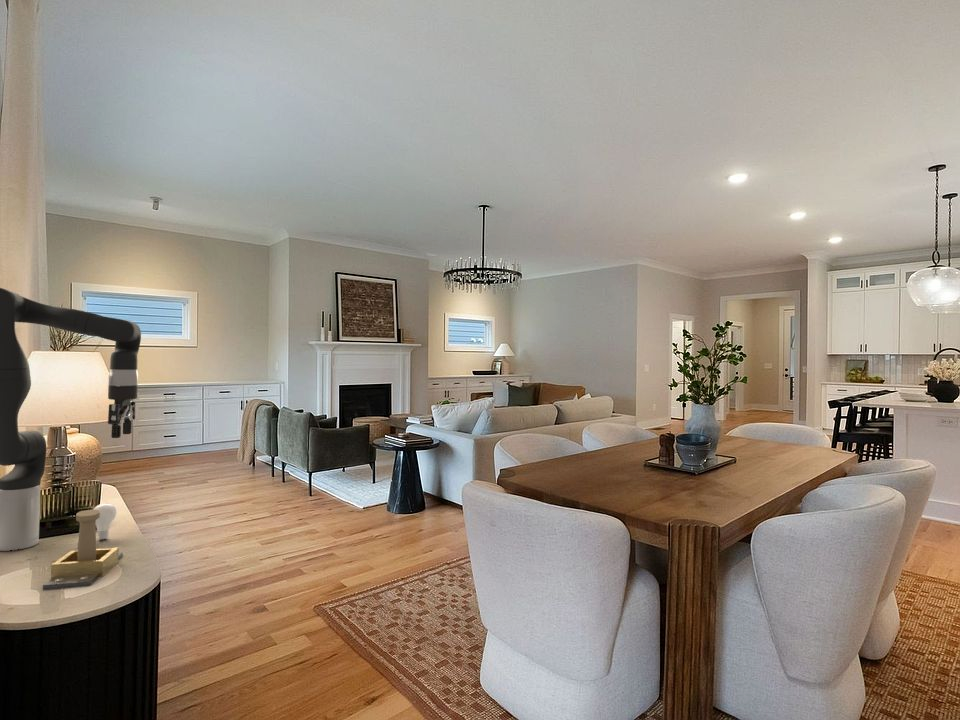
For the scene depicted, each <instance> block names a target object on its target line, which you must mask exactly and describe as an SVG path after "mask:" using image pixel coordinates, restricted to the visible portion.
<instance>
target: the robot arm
mask: <svg viewBox="0 0 960 720" xmlns="http://www.w3.org/2000/svg"><path fill="white" fill-rule="evenodd" d="M16 323H25V324H26V323H27V324H33V325H34V324H36V325H42V326H48V327H52V328H54V329H58V330H63V331H66V332H70V333H76V334H80V335H84V336H89V337H90V336H91V337H98V338H100V339H105V340H108V341H113V342H115V344H114V350H113V351H112V352H111V353H110V359H109V361H110V362H109V372H108V373H109V374H108V385H107V387H108V388H107V390H108V391H107V399H108V400H113V401H114V403H109V405H108V416H107V425H110V426H111V437H110V438H112V439H118V438H121V436H122V435H131V434H132V428H133V427H132V424H133V422H134V420H135V419H136V399H138V386H139V385H138V384H139V383H138V382H139V373H138V353H139V350H140V346H141V340H142V331H141V328H140V326H139V325H138V324H137V323H136V322H134V321H131V320H125V319H120V318H116V317H110V316H103V315H101V314H98V313H93V312H91V311H90V312H89V311H85V310H81V309H75V308H69V307H59V306H53V305H49V304H44V303H41V302H37V301H35V300H32V299H29V298H26V297H24V296H22V295H20V294H18V293H16V292H14V291H11V290H9V289H6V288H2V287H0V466H3V467H7V466H8V467H9V466H13V465H14V467H13V468H12V469H11V470H10V471H9V472H8V473H7V474H4V475H3V476H2V477H0V552H7V551H8V552H10V550H12V551H18V549H19V550H22V549H28V548H32V547H34V546H36V545H38V543H39V538H40V511H41V507H40V505H41V484H42V483H41V482H42V481H41V480H42V478H43V476H44V475H45V467H46V459H47V457H46V456H47V441H46V438H45V436H44V434H43V433H41V432H39V431H37V430H33V429H32V430H22V431H21V430H20V431H19V425H18V422H19V421H18V418H19V412H20V410H21V407H22V406H23V404H24V402H25V400H26V398H27V396H28V395H29V392H30V390H31V387H32V380H31V379H32V378H31V370H30V364H29V361H28V358H27V356H26V354H25V352H24V349H23V347H22V346H21V344H20V341H19V340H18V337H17V333H16ZM133 400H134V401H133ZM121 434H122V435H121Z"/></svg>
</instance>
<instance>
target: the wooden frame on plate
mask: <svg viewBox="0 0 960 720" xmlns="http://www.w3.org/2000/svg"><path fill="white" fill-rule="evenodd" d="M119 549H120V548H119V547H107V548H106V547H105V548H96V558H95V560H88V561H78V557H77V553H78V552H77V550H78V549H76V550H74V549H72V550H70V551H69V552H67V553H66V554H65V555H63V556H61V557H60V558H59V559H57V560H55V561H54V562H53V563H52V564H50V567H51V568H50V579H49V580H47V581H46V582H45V583H43V584H42V590H50V589H63V588H76V587H88V586H91V585H92V584H94V583H95V581H97V580H98V579H100V578H103V577H104V576H105V575H106V574H108V572H109V571H110V570H112V569H113V568H114V567H115V566H116V565H117V564H118V563H119V560H120V559H121V558H122V557H123V556H124V552H121V551H119Z"/></svg>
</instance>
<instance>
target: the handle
mask: <svg viewBox="0 0 960 720" xmlns="http://www.w3.org/2000/svg"><path fill="white" fill-rule="evenodd" d="M99 517H100V511H99V510H93V509H86V510H85V509H84V510H80V511H78V512H77V513H76V515H75V521H76V522H78V523H79V530H78V541H77V549H76V550H77V552H78V553H77V557H78V561H88V560H95V558H96V549H97V531H96V530H97V528H96V520H97V519H98V518H99Z"/></svg>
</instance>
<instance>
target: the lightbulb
mask: <svg viewBox="0 0 960 720" xmlns="http://www.w3.org/2000/svg"><path fill="white" fill-rule="evenodd" d="M92 510H99V511H100V517H99V518H98V519H97V520H96V530H97V539H98V540H100V541H105V540H106V539H108V538H109V531H110V528H111V526H112V525H111V524H112V523H113V521H114V520H115V519H116V516H117V508H116V506H115V505H114V504H111V503H108V502H104V503H100V504H98V505H96V506H95V507H94V508H93V509H92ZM104 539H105V540H104Z"/></svg>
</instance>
